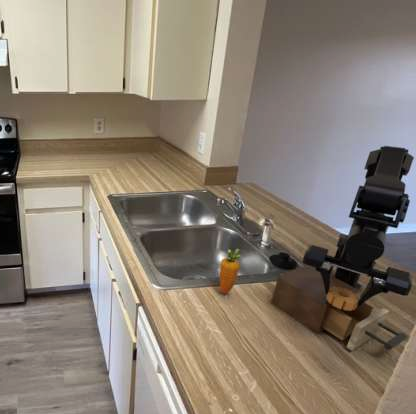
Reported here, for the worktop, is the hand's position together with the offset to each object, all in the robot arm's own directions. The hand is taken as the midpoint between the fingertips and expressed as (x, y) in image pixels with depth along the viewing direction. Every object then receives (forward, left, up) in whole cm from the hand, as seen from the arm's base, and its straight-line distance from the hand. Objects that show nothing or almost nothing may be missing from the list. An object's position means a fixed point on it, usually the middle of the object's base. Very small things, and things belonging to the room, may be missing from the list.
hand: (342, 298), depth 77 cm
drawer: (-4, +3, -10) cm, 11 cm away
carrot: (+11, -23, -11) cm, 28 cm away
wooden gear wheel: (0, 0, -1) cm, 1 cm away
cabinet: (-4, -8, -11) cm, 14 cm away
